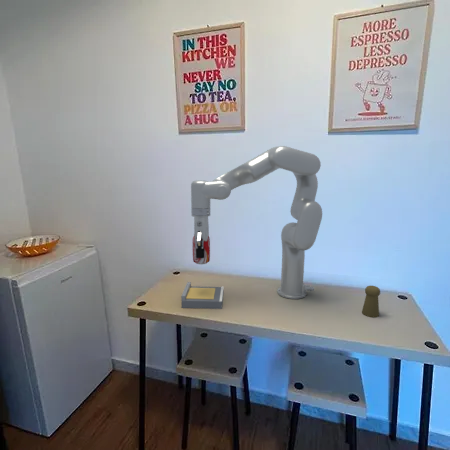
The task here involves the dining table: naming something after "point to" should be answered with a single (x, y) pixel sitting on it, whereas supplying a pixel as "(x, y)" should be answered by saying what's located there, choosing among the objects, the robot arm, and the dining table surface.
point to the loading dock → (202, 297)
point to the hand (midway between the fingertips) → (201, 254)
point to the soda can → (206, 252)
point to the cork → (371, 302)
